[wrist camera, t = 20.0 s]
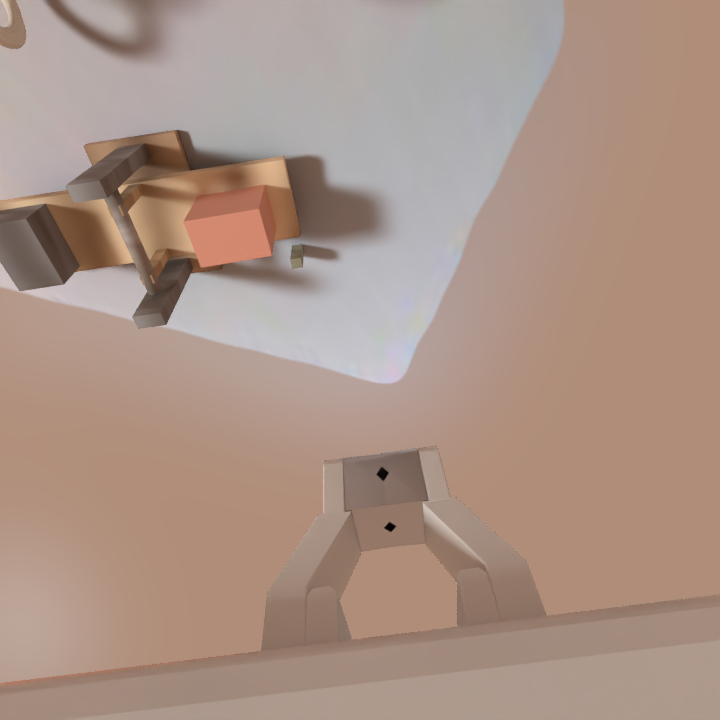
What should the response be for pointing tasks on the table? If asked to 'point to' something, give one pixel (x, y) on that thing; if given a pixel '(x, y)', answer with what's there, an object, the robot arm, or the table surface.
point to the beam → (127, 223)
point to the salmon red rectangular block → (231, 226)
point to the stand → (136, 162)
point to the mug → (13, 27)
